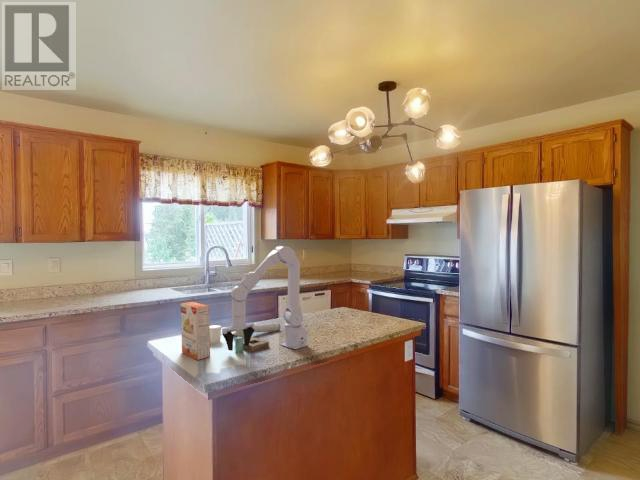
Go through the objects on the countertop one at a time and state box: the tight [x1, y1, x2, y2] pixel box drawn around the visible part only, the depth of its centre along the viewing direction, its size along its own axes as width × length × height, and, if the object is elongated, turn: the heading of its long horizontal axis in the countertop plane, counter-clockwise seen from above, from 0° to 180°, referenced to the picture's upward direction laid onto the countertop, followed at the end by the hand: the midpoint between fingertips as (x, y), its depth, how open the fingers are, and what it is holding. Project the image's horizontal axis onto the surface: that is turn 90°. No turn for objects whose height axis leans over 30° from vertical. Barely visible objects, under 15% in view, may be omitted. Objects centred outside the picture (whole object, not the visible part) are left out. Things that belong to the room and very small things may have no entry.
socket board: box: [243, 336, 270, 353], centre depth 161 cm, size 12×9×2 cm
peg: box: [234, 337, 244, 355], centre depth 154 cm, size 3×3×6 cm
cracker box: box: [180, 301, 211, 361], centre depth 150 cm, size 14×6×21 cm, turn 45°
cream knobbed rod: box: [232, 322, 281, 340], centre depth 180 cm, size 5×7×25 cm
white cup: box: [209, 324, 222, 344], centre depth 170 cm, size 7×7×7 cm
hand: (238, 347), depth 153 cm, fingers open, 7 cm apart
